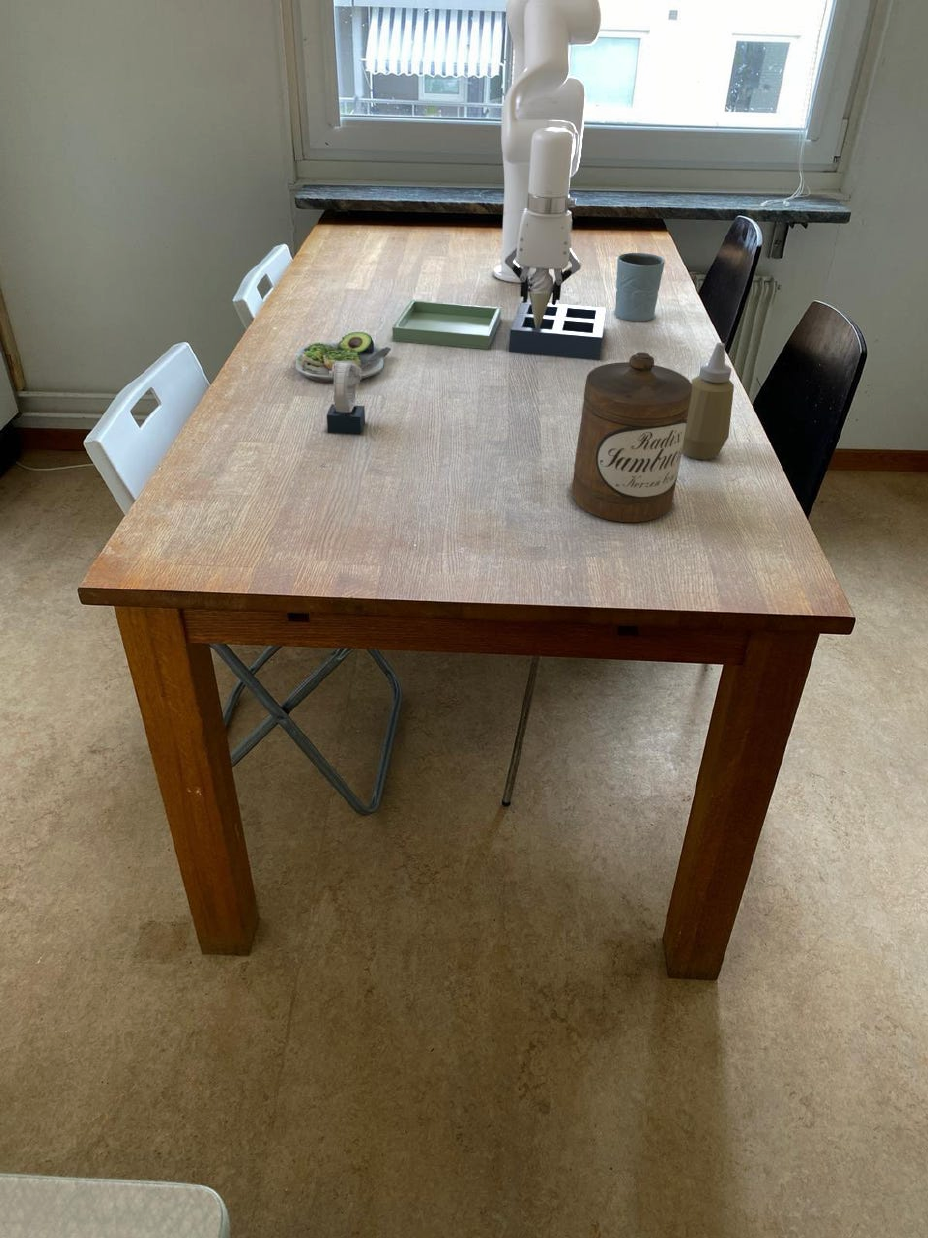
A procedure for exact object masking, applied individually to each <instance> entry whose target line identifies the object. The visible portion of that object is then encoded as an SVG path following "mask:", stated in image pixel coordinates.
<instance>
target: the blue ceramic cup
mask: <svg viewBox="0 0 928 1238" xmlns="http://www.w3.org/2000/svg"><path fill="white" fill-rule="evenodd" d="M665 262H666V261H665V259H664V258H663V257H662V256H659V255H656V254H651V253H644V252H628V253H622V254H619V255H618V256H617V259H616V279H615V289H616V290H615V306H614V315H615V316H616V317H617V318H618V319H621V320H624V321H629V322H637V323H638V322H648V321H651V320H652V319H654V316H655V312H656V308H657V307H656V305H657V301H658V298H659V291H660V286H661V282H662V278H663V273H664V268H665Z"/></svg>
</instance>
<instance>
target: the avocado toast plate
mask: <svg viewBox="0 0 928 1238" xmlns="http://www.w3.org/2000/svg"><path fill="white" fill-rule="evenodd" d="M341 339H342V340H340V341H339V342H324V341H323V342H313V343H309V344H305V345H304V346H301V347H300V348H299V349H298V351H297V353H296V359H295V362H294V363H295V364H294V365H295V371H296V372H298V373H299V374H301V375H302V376H304V377H305V378H307V379H310V380H312V381H314V382H318V383H326V384H327V383H328V384H329V383H330V384H331V383H333V384H334V379H333V377H332V376H330V375H329V371H332V367H333V365H334V364H335V363H337V362H340V361H348V362H352V363H355V364H356V365H358V366H359V367H360V368H361V370H362V376H361V380H363V379H366V378H369V377H372V376H375V375H377V374H379V373H380V372H381V371H382V369H383V368H384V367H383V366H384V358H385V357H386V356H387V355H388V354H389V353H390V352H391V351H392V348H390V347H389V346H385V347H384V348H383V347H380V346H378V345H376V344H375V343H374V340H373V337H372V336H371V335H370V334H369V333H367V332H364V331H354V332H350V333H347V334H345V336H342V337H341Z"/></svg>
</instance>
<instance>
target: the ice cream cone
mask: <svg viewBox="0 0 928 1238" xmlns="http://www.w3.org/2000/svg"><path fill="white" fill-rule="evenodd" d="M553 285H554V277H553V276H552V274H551V273H550V269H545V268H536V271H535V273H534V274H533V276H532V277H530V282H529V288H528V291H529V293H528V296H529V300H530V302H531V306H532V311H533V316H534V322H535V327H536V328H538V329H539V328H540V325H541V323H542V320H543V317H544V314H545V312H546V309H547V306H548V303H550V301H551V299H552V294H553Z"/></svg>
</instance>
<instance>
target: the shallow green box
mask: <svg viewBox="0 0 928 1238" xmlns="http://www.w3.org/2000/svg"><path fill="white" fill-rule="evenodd" d="M501 315H502V307H500V306H499V307H497V306H487V305H486V306H485V305H473V304H463V303H461V304H460V303H450V302H449V303H448V302H440V301H439V302H437V301H429V300H428V301H427V300H417V299H416V300H415V299H410V301H409V303H408V304H407V306H406V307H405V308H404V310H403V311H402V313H401V314H400V316H399V317H398V318H397V320H396V321H395V323H394V325H393V326H392V341H393V342H400V343H401V342H402V343H411V344H424V345H435V346H444V347H454V348H455V347H457V348H467V349H477V350H478V349H480V350H489V349H490V346H491V344H492V341H493V339H494V336H495V334H496V331H497V329H498V327H499V324H500V322H501Z"/></svg>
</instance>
